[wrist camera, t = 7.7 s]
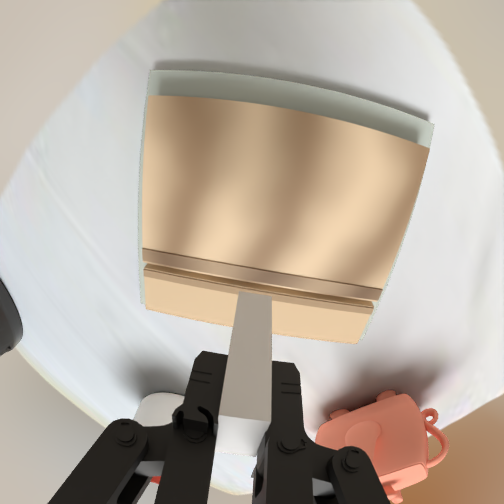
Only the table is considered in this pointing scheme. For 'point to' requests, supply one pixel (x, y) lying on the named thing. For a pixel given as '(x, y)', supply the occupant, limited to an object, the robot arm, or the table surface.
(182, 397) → the cup
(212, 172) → the board
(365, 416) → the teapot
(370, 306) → the pad
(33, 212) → the table surface
